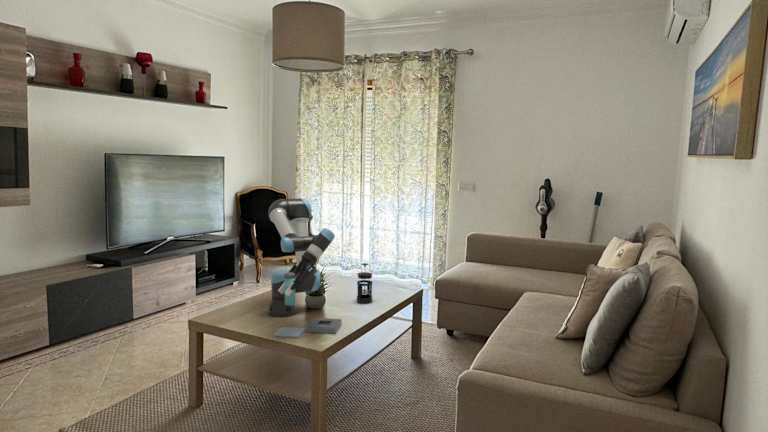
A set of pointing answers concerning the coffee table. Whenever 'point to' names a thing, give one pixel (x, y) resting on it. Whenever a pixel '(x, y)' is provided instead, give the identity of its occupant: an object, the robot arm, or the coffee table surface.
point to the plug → (288, 280)
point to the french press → (364, 295)
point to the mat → (289, 332)
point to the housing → (324, 325)
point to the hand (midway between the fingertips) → (283, 293)
